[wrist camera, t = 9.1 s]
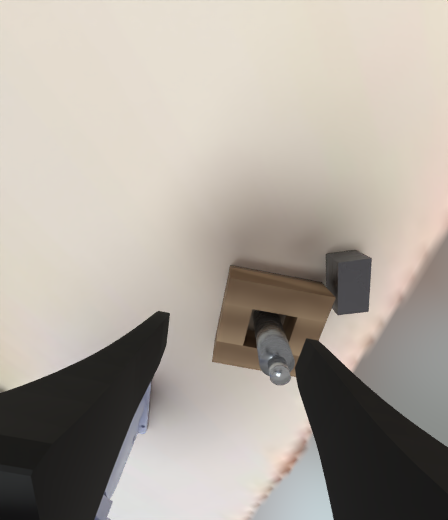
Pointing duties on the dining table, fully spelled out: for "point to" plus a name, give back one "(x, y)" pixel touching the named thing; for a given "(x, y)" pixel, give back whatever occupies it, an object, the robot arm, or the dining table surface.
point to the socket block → (270, 300)
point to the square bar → (349, 281)
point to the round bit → (273, 347)
